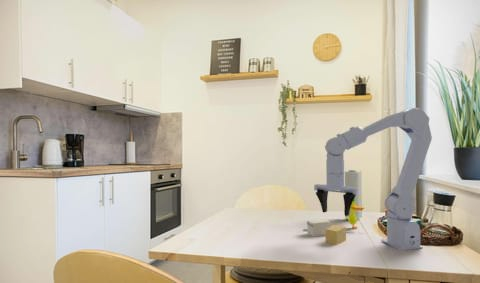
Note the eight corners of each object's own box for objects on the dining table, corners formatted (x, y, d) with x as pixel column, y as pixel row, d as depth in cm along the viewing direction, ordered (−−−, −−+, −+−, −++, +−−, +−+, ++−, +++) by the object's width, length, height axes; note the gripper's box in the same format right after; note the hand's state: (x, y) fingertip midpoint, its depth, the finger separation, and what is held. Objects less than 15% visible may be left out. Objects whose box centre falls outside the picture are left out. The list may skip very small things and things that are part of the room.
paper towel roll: (345, 219, 135) (345, 171, 135) (344, 216, 140) (344, 170, 140) (362, 220, 132) (362, 171, 132) (361, 217, 138) (361, 170, 138)
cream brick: (330, 235, 111) (330, 221, 111) (312, 237, 109) (312, 223, 109) (324, 232, 115) (324, 218, 115) (307, 234, 113) (307, 220, 113)
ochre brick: (346, 241, 104) (345, 226, 104) (337, 246, 99) (336, 231, 99) (334, 238, 107) (334, 224, 107) (325, 244, 102) (325, 229, 102)
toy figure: (364, 228, 121) (364, 198, 121) (363, 230, 118) (363, 199, 118) (346, 226, 124) (346, 196, 124) (345, 228, 121) (345, 198, 121)
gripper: (361, 173, 101) (361, 214, 101) (320, 171, 111) (320, 208, 111) (353, 175, 96) (354, 218, 96) (311, 172, 105) (311, 212, 105)
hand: (335, 213), depth 103 cm, fingers open, 7 cm apart
